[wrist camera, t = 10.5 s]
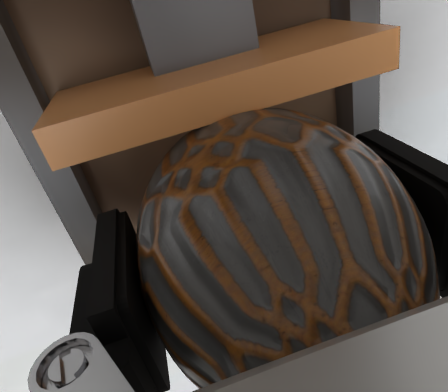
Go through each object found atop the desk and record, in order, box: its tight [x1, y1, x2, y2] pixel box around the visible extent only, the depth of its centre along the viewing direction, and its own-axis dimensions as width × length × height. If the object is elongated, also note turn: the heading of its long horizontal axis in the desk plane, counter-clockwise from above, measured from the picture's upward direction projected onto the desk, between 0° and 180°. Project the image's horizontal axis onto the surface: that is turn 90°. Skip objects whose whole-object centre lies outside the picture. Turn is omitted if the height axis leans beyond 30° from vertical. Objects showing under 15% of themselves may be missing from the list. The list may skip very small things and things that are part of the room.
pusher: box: [32, 0, 400, 171], centre depth 9 cm, size 4×9×4 cm, turn 102°
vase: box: [136, 108, 440, 389], centre depth 9 cm, size 7×7×9 cm
